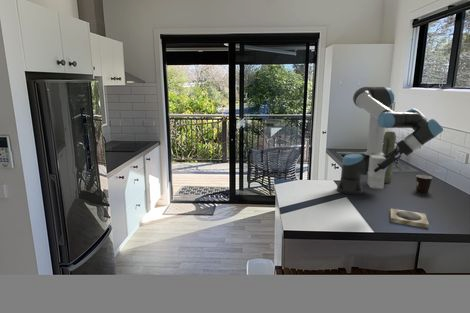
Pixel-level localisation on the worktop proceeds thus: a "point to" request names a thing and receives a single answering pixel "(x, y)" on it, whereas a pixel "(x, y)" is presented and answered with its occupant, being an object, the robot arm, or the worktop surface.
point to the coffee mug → (423, 183)
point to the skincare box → (378, 178)
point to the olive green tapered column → (387, 148)
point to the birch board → (409, 218)
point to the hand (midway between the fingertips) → (369, 172)
